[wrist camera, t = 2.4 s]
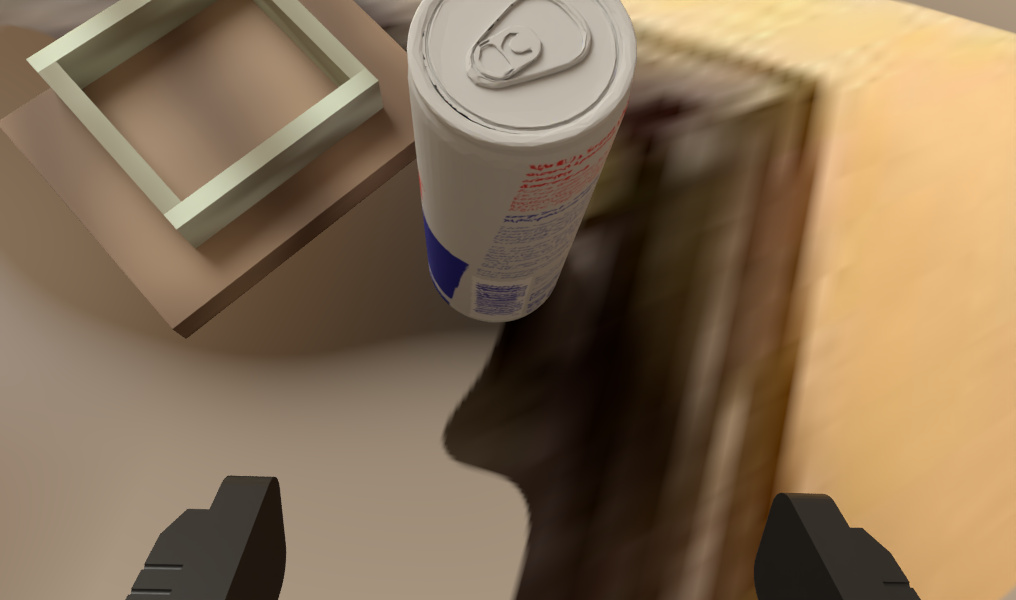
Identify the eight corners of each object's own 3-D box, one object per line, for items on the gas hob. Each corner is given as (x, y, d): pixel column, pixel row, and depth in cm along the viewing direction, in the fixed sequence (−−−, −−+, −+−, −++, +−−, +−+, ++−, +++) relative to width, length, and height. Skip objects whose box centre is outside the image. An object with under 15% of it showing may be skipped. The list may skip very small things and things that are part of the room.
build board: (293, -41, 35) (276, -100, 32) (460, 123, 33) (460, 78, 30) (17, 140, 31) (-35, 95, 28) (186, 338, 29) (151, 314, 26)
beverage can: (573, 224, 32) (666, -20, 18) (538, 342, 30) (611, 177, 16) (452, 188, 32) (447, -83, 18) (411, 303, 30) (369, 105, 16)
